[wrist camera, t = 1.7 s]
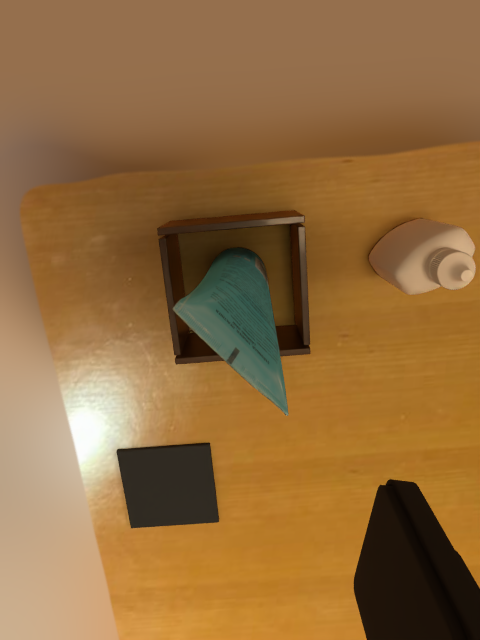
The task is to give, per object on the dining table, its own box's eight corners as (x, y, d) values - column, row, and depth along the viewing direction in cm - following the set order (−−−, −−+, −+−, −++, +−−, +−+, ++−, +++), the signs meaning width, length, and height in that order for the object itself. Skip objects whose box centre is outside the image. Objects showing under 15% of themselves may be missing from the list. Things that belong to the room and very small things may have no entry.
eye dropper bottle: (434, 267, 39) (514, 304, 27) (368, 277, 39) (420, 317, 28) (433, 216, 38) (516, 231, 26) (364, 226, 38) (417, 245, 26)
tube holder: (185, 338, 41) (175, 364, 35) (169, 221, 38) (156, 228, 32) (300, 329, 41) (310, 354, 35) (295, 210, 38) (304, 215, 32)
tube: (187, 269, 39) (138, 349, 21) (223, 225, 38) (205, 268, 20) (253, 323, 40) (262, 442, 22) (289, 282, 39) (331, 372, 21)
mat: (131, 525, 47) (130, 528, 46) (117, 449, 44) (116, 451, 44) (218, 519, 47) (218, 522, 46) (209, 442, 44) (209, 444, 44)
